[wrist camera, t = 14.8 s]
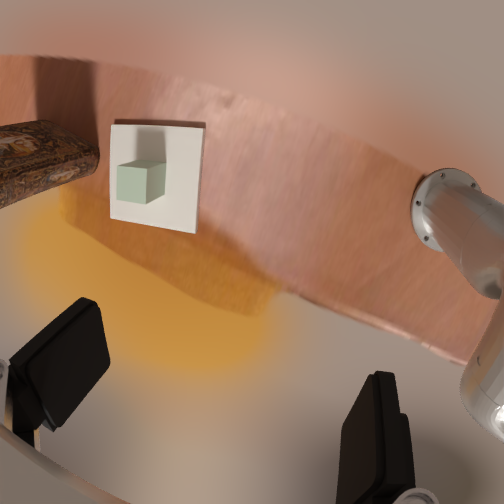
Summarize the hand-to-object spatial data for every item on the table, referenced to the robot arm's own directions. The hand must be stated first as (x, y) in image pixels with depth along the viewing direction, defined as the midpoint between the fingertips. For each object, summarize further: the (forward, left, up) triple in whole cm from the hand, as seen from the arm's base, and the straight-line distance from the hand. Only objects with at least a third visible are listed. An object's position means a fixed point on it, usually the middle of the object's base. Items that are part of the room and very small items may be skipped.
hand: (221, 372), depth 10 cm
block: (+22, +3, -36) cm, 42 cm away
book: (+41, -1, -37) cm, 55 cm away
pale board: (+22, +3, -37) cm, 43 cm away
